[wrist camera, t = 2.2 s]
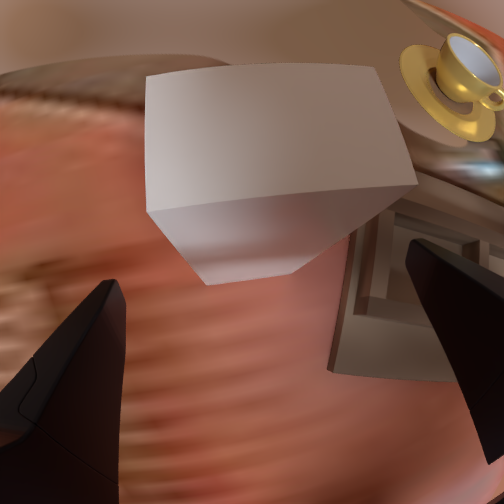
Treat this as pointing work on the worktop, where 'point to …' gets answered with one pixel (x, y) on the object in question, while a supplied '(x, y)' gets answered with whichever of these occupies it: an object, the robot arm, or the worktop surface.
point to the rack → (407, 281)
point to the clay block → (268, 163)
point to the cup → (455, 84)
